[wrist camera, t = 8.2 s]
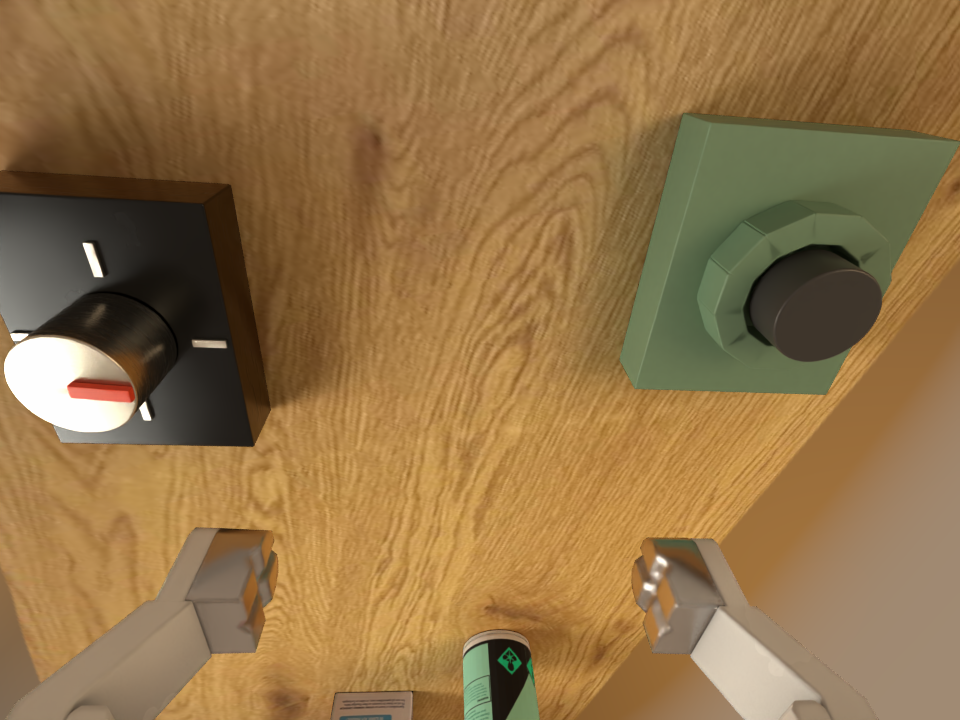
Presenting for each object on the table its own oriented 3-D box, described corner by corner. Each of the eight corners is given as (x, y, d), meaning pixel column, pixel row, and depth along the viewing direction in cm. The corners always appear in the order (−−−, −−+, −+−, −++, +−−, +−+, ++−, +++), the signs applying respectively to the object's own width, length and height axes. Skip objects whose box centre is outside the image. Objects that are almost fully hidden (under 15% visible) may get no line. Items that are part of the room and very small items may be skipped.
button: (769, 245, 20) (799, 266, 18) (865, 251, 20) (904, 271, 19) (734, 335, 22) (758, 361, 20) (822, 339, 23) (853, 364, 21)
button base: (682, 112, 21) (734, 130, 17) (908, 130, 22) (1005, 150, 18) (619, 359, 28) (646, 412, 24) (796, 366, 28) (849, 417, 25)
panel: (1, 169, 21) (-64, 189, 18) (231, 183, 22) (201, 205, 19) (96, 405, 27) (58, 445, 25) (271, 410, 28) (253, 449, 25)
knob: (79, 377, 23) (20, 434, 20) (50, 286, 21) (-24, 334, 17) (185, 386, 23) (143, 442, 20) (167, 298, 21) (118, 346, 18)
